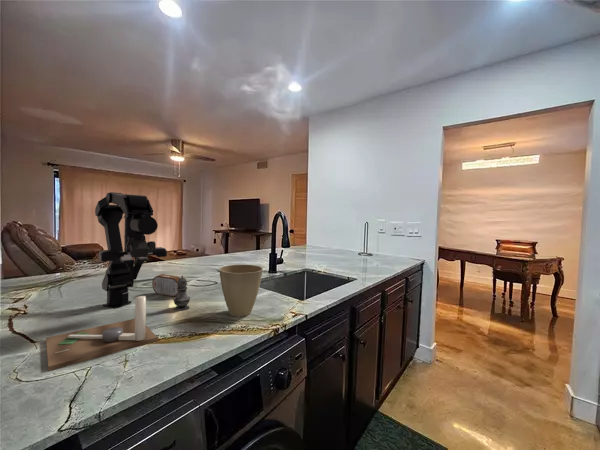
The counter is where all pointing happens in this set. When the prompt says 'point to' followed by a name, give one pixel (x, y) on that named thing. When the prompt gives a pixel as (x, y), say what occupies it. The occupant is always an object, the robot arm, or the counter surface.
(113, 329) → the crank handle
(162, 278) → the tin
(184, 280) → the salt shaker
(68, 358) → the dial plate
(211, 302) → the counter surface
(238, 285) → the plant pot
